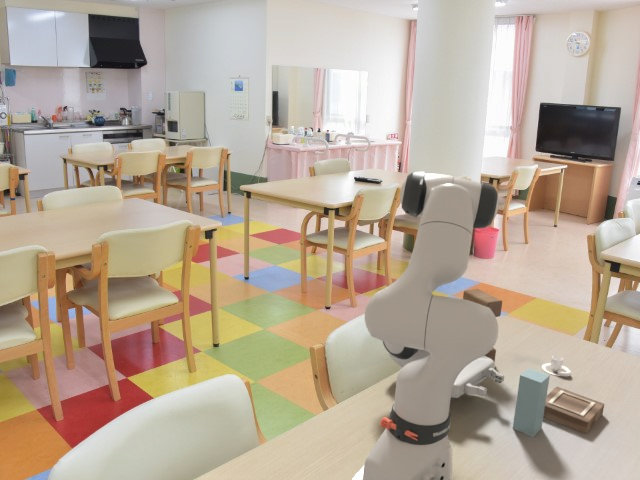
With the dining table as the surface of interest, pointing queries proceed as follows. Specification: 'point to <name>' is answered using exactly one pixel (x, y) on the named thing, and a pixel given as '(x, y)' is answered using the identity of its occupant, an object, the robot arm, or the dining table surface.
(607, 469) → the dining table surface
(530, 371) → the column
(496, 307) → the decorative block
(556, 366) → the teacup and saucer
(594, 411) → the plinth
